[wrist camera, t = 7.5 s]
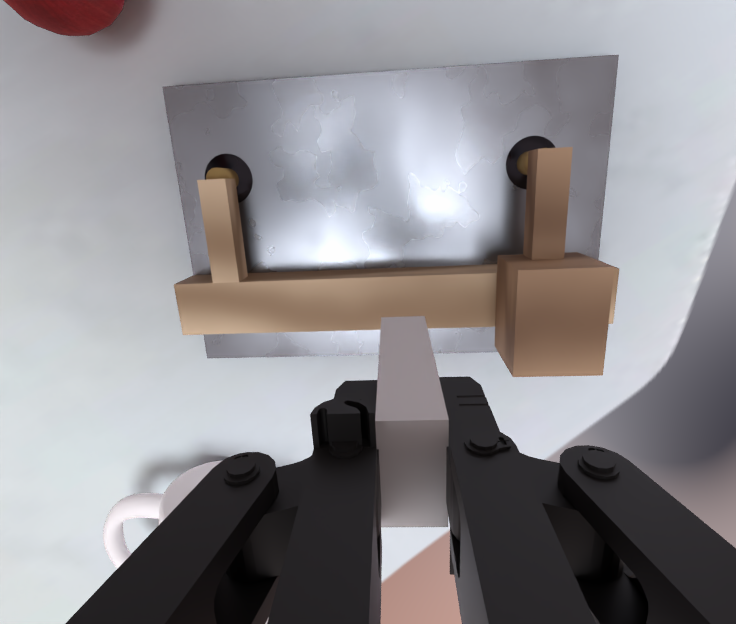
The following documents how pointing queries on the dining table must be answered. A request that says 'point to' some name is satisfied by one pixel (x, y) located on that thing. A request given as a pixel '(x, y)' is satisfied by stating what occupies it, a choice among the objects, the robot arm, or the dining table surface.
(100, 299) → the dining table surface
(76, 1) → the onion
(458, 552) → the robot arm
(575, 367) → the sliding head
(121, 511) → the mug
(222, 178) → the beam
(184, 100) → the bolt plate
